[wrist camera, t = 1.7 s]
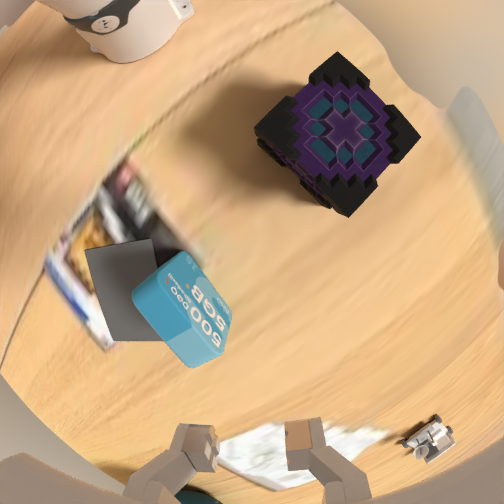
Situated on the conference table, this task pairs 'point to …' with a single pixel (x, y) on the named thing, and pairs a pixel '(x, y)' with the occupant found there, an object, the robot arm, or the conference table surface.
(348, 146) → the energy cube
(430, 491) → the robot arm
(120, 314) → the mat
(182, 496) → the globe
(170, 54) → the conference table surface
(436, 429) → the toy car
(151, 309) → the light blue flat block
